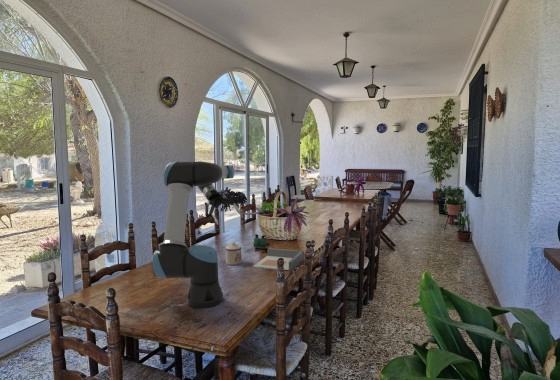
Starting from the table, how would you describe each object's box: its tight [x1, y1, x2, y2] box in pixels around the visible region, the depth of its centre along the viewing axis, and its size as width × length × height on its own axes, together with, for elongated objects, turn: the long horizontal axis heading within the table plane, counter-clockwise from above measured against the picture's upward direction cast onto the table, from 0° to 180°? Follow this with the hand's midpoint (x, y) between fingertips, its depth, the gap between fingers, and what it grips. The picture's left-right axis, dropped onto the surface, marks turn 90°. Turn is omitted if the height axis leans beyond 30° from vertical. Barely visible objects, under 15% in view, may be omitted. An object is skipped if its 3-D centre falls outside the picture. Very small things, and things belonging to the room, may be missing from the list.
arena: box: [252, 247, 305, 272], centre depth 212 cm, size 22×22×5 cm
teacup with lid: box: [224, 241, 242, 266], centre depth 216 cm, size 12×9×12 cm
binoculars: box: [253, 233, 271, 253], centre depth 239 cm, size 9×11×10 cm
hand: (228, 217), depth 206 cm, fingers open, 13 cm apart
